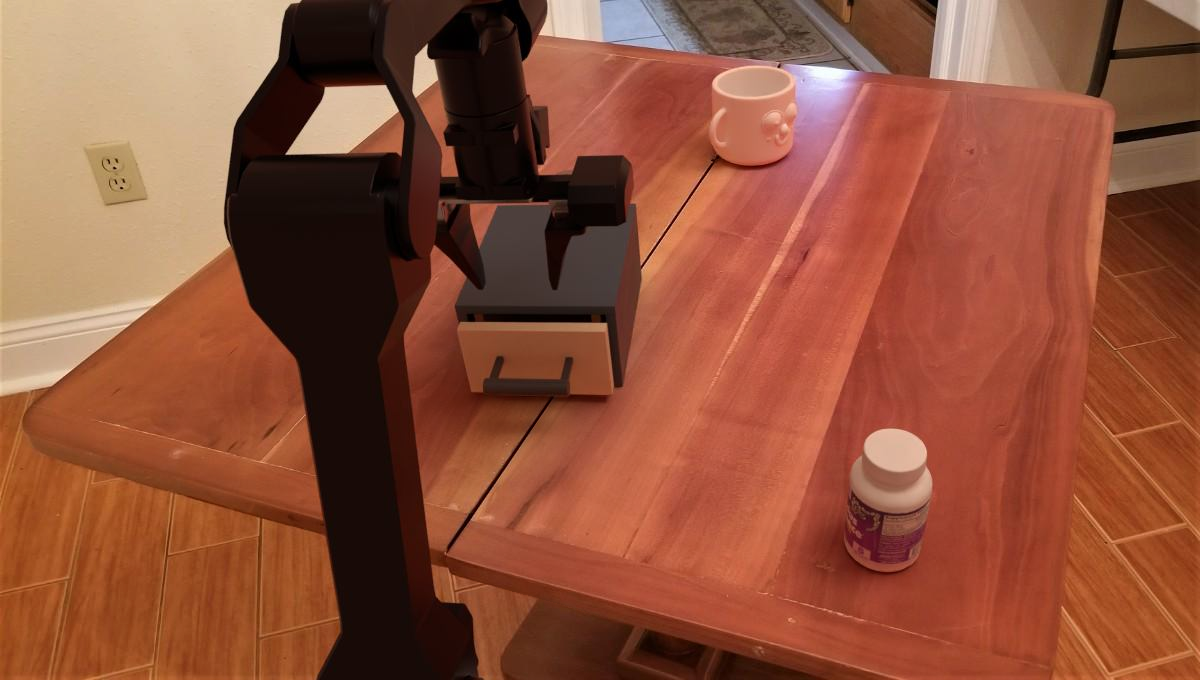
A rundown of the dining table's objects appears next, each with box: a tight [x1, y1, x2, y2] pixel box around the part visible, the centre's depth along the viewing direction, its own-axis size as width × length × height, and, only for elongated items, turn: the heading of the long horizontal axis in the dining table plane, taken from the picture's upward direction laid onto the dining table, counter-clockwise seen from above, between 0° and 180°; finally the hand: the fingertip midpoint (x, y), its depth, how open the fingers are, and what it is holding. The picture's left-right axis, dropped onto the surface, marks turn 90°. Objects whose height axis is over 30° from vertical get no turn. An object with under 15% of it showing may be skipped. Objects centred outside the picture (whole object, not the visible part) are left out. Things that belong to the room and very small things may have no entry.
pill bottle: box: [843, 428, 933, 573], centre depth 64 cm, size 5×5×10 cm
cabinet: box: [454, 203, 643, 387], centre depth 88 cm, size 17×14×9 cm
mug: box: [708, 65, 799, 166], centre depth 111 cm, size 12×10×9 cm
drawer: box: [456, 314, 615, 398], centre depth 84 cm, size 20×13×7 cm, turn 172°
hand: (518, 287), depth 73 cm, fingers open, 6 cm apart
